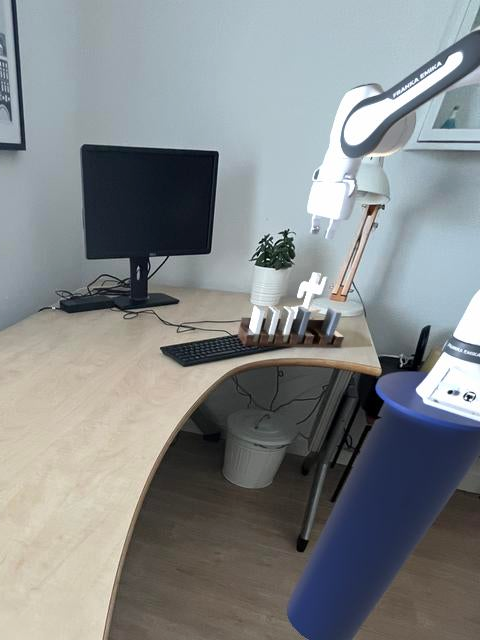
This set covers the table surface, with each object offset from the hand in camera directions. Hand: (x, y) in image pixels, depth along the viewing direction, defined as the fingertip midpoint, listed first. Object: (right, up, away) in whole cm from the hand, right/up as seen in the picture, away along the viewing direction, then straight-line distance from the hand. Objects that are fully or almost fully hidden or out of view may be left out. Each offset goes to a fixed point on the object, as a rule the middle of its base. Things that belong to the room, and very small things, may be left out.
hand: (320, 236), depth 120 cm
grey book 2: (+10, -22, +17) cm, 30 cm away
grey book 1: (+1, -22, +17) cm, 28 cm away
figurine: (+13, -6, +38) cm, 40 cm away
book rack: (-1, -22, +18) cm, 29 cm away
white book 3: (-4, -22, +17) cm, 28 cm away
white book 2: (-8, -22, +17) cm, 29 cm away
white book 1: (-13, -22, +17) cm, 30 cm away
